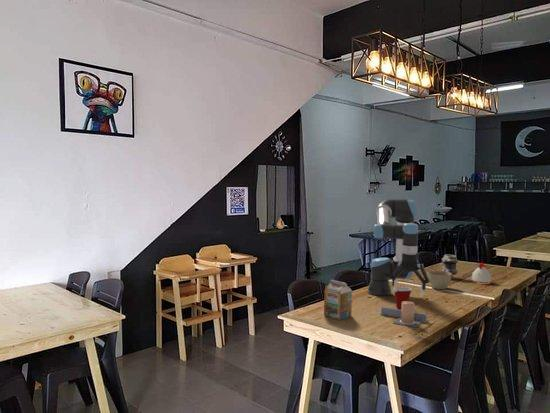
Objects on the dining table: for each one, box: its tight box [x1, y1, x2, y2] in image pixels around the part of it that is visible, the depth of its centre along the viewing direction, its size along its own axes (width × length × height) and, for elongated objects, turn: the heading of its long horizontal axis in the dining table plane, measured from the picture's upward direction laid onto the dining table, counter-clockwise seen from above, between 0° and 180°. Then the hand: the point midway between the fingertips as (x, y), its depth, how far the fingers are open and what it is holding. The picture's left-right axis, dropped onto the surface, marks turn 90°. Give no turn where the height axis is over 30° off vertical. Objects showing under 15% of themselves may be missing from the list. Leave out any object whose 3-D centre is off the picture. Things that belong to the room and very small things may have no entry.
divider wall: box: [379, 306, 428, 324], centre depth 230 cm, size 24×4×4 cm, turn 58°
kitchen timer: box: [470, 262, 493, 283], centre depth 320 cm, size 14×14×15 cm
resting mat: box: [392, 317, 423, 329], centre depth 222 cm, size 12×11×1 cm
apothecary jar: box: [440, 254, 459, 280], centre depth 333 cm, size 12×12×18 cm
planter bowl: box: [426, 270, 453, 290], centre depth 300 cm, size 16×16×11 cm
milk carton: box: [323, 279, 353, 321], centre depth 232 cm, size 11×11×19 cm
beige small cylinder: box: [400, 300, 416, 324], centre depth 222 cm, size 6×6×10 cm
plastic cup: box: [392, 286, 413, 310], centre depth 248 cm, size 11×11×12 cm
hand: (408, 293), depth 222 cm, fingers open, 13 cm apart
